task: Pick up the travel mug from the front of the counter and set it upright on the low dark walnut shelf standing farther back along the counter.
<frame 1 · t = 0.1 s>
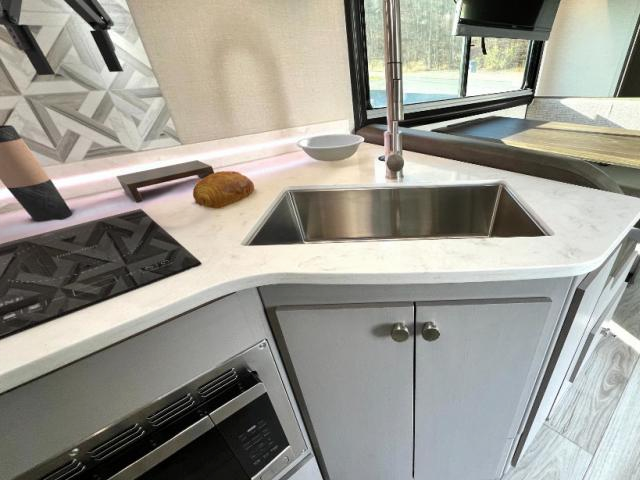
hand: (85, 73, 60), 29 cm above the worktop, tool pointing down, fingers open, 13 cm apart
soup bowl: (333, 160, 117), on the worktop
travel mug: (55, 218, 79), on the worktop
croissant: (226, 200, 86), on the worktop
shelf: (173, 188, 95), on the worktop
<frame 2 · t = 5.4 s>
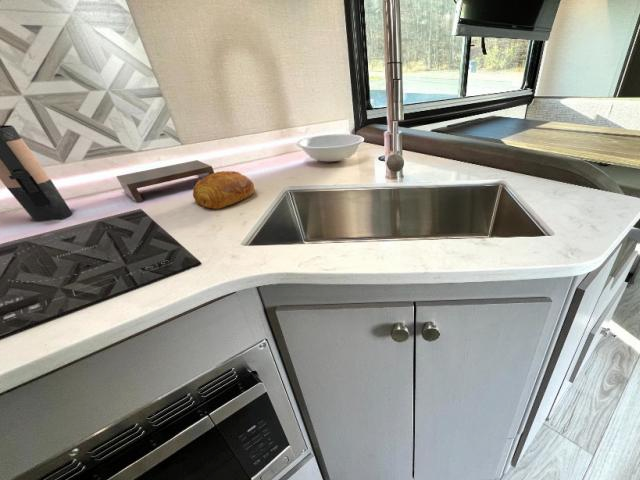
hand: (42, 201, 76), 4 cm above the worktop, tool pointing down, fingers closed on travel mug, 8 cm apart
travel mug: (54, 218, 79), on the worktop, touching gripper
everything else where it was.
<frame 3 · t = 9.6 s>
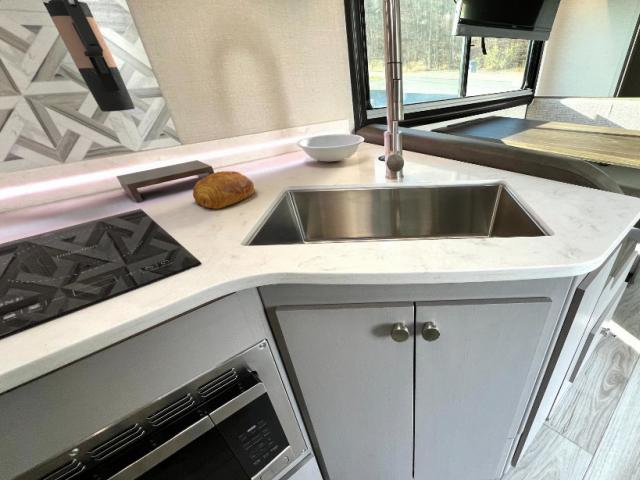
hand: (109, 90, 78), 25 cm above the worktop, tool pointing down, fingers closed on travel mug, 8 cm apart
travel mug: (119, 110, 80), point 21 cm above the worktop, touching gripper
everything else where it was.
when the fingers open (9 cm above the worktop, at t = 13.8 s): travel mug stays where it is, resting on shelf.
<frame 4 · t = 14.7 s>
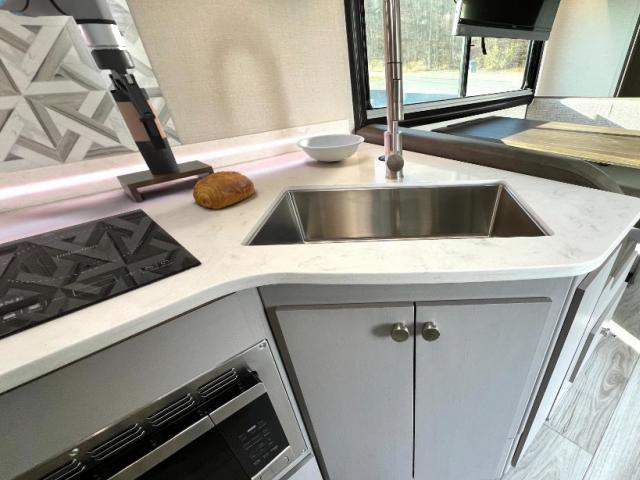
hand: (153, 146, 88), 12 cm above the worktop, tool pointing down, fingers open, 13 cm apart
travel mug: (165, 171, 92), point 5 cm above the worktop, touching shelf
everything else where it was.
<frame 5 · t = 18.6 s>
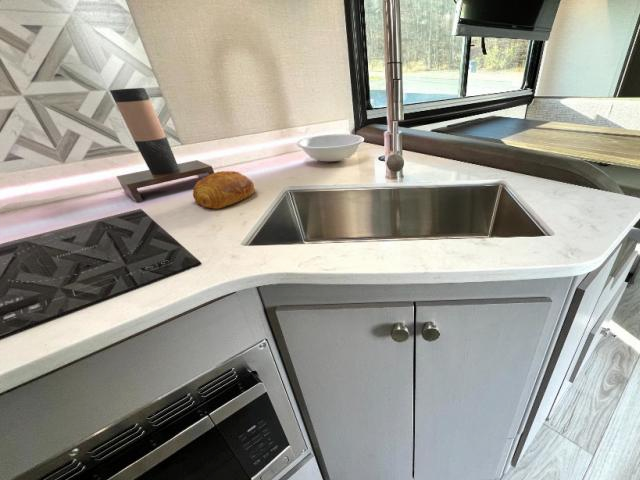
nothing on the worktop moved.
at the end: travel mug inside the target area on the shelf (0.0 cm from its centre), point 4.8 cm above the shelf's base; travel mug tilted 0°; the gripper is holding nothing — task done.
